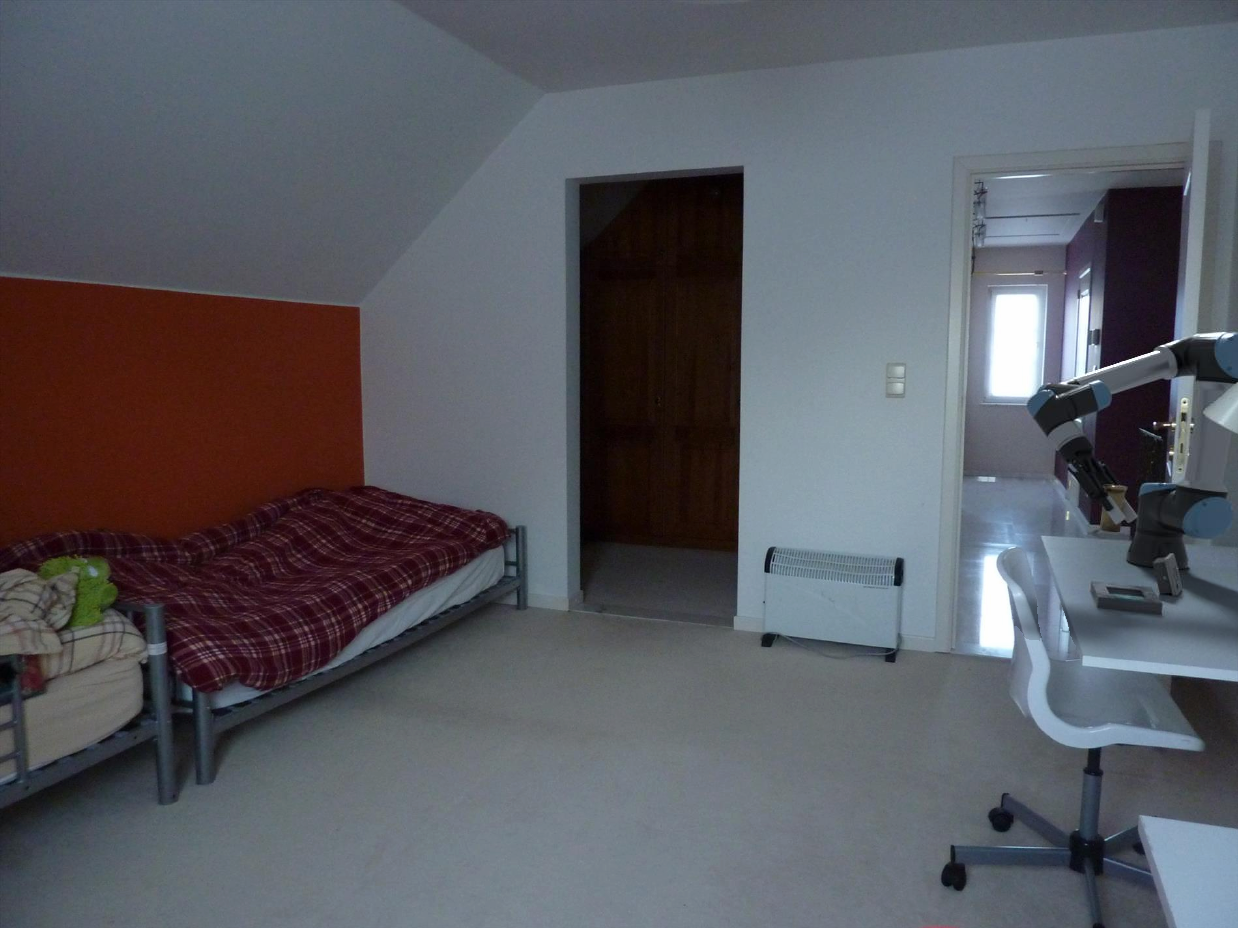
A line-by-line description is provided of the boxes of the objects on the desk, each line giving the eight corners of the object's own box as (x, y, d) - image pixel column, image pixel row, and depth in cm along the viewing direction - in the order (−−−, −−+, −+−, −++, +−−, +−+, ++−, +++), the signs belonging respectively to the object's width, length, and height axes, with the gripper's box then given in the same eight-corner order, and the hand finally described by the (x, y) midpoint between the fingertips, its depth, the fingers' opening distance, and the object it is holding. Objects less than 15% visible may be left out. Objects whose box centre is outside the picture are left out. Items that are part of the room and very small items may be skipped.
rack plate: (1090, 590, 227) (1091, 580, 227) (1150, 597, 222) (1151, 586, 222) (1097, 607, 212) (1098, 595, 212) (1161, 614, 208) (1162, 602, 207)
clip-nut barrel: (1108, 527, 227) (1114, 484, 226) (1126, 532, 223) (1132, 487, 221) (1093, 528, 226) (1098, 484, 224) (1111, 533, 221) (1116, 488, 219)
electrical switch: (1176, 597, 223) (1176, 559, 222) (1152, 595, 226) (1151, 558, 226) (1182, 590, 230) (1182, 553, 230) (1158, 588, 234) (1158, 552, 233)
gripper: (1080, 451, 239) (1135, 526, 227) (1039, 453, 230) (1093, 531, 219) (1102, 434, 234) (1159, 509, 222) (1061, 435, 225) (1118, 514, 213)
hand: (1126, 520), depth 220 cm, fingers closed on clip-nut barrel, 4 cm apart
